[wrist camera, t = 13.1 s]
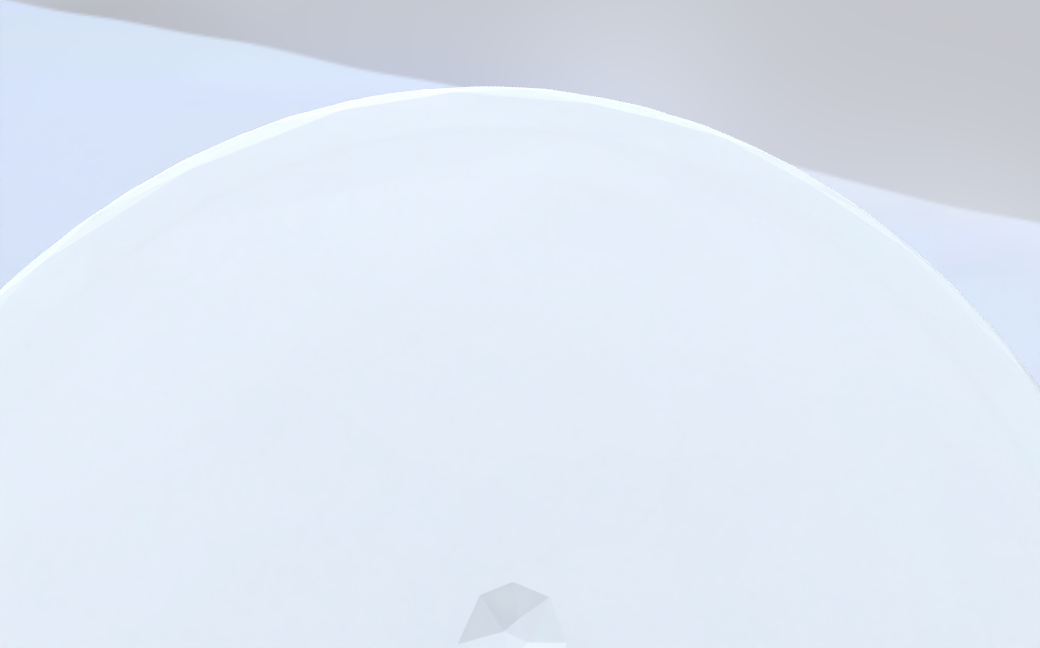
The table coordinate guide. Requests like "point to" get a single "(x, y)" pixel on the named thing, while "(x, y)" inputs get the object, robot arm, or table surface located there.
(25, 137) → the table surface
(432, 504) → the supplement tub
